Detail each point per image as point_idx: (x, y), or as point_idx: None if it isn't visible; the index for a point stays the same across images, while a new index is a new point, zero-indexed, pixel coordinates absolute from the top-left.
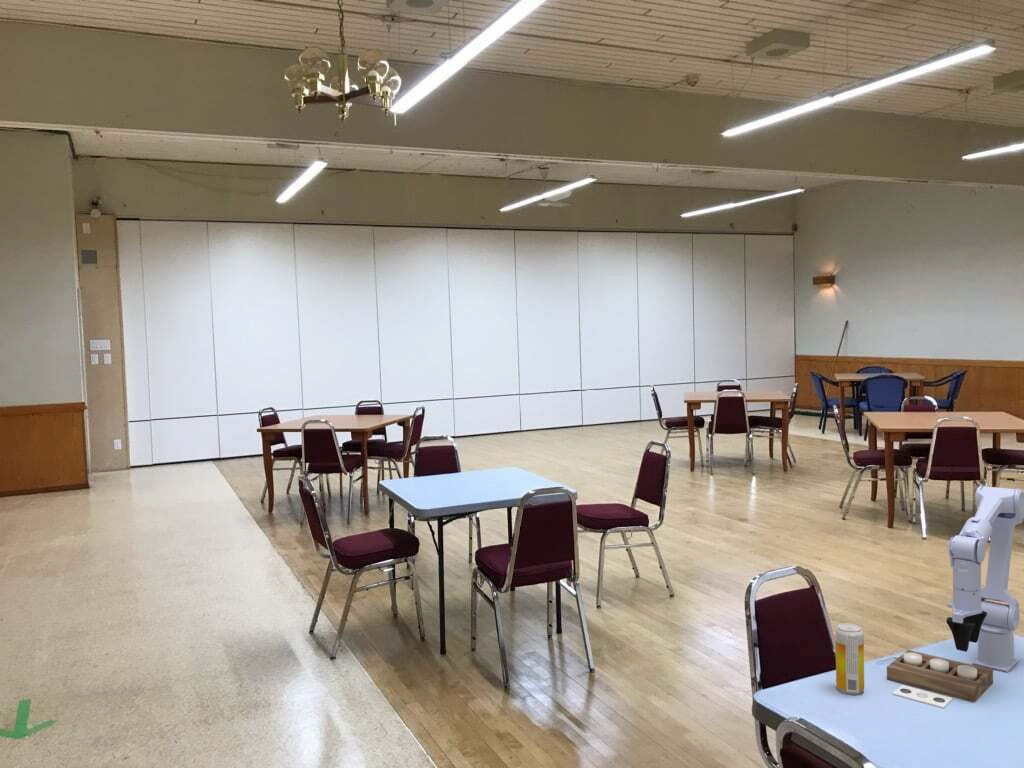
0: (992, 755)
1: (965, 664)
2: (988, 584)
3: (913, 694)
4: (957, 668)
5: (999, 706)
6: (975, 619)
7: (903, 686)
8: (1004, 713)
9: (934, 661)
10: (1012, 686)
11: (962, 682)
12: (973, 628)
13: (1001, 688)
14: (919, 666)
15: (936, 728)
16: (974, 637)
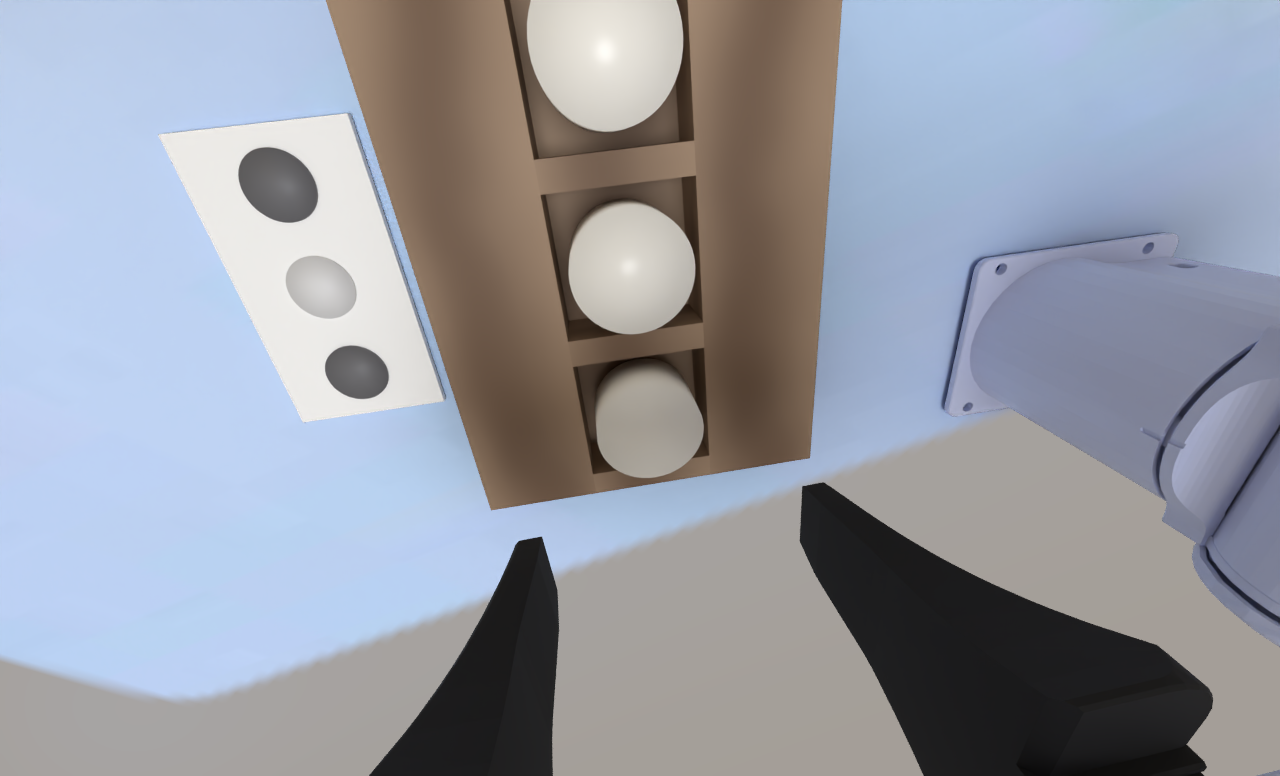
0: (127, 672)
1: (796, 342)
2: None
3: (284, 245)
4: (621, 392)
5: (550, 529)
6: (938, 747)
7: (332, 135)
8: (501, 562)
9: (612, 246)
10: (794, 478)
11: (516, 446)
12: (872, 624)
13: None
14: (583, 128)
15: (77, 492)
16: (822, 562)
